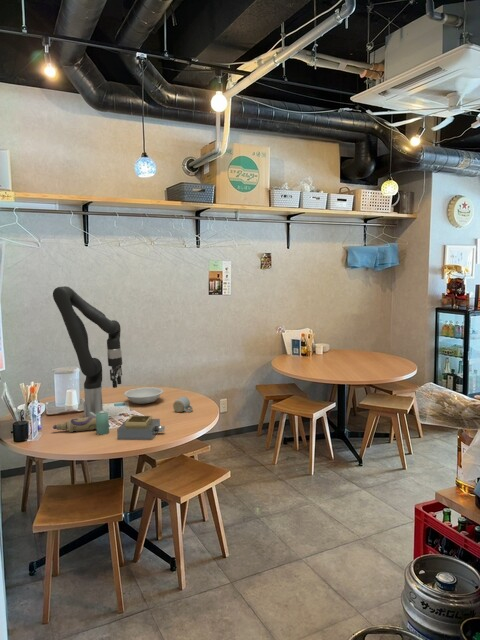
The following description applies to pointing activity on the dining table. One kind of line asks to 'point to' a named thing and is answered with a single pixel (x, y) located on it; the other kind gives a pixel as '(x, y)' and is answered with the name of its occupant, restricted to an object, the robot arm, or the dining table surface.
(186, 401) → the ceramic mug
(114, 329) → the robot arm
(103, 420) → the oil can
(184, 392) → the dining table surface
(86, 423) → the decorative bottle
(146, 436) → the grey metal block
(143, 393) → the soup bowl
